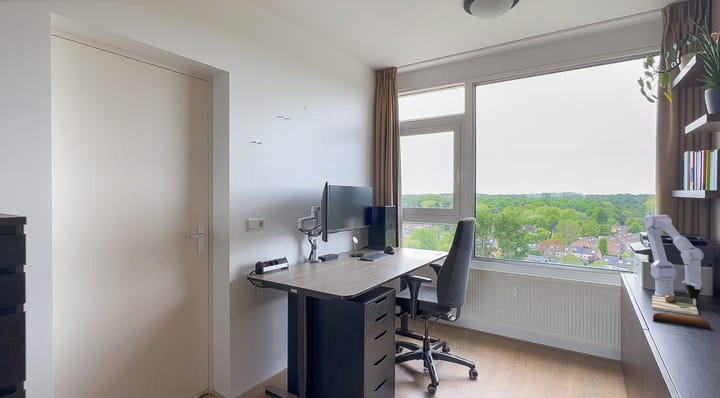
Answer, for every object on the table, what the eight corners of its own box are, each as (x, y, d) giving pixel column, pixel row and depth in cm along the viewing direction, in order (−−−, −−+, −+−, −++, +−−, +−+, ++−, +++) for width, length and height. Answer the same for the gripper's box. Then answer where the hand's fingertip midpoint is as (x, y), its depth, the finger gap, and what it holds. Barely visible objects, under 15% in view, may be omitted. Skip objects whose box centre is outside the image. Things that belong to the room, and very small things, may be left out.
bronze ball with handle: (665, 301, 169) (665, 296, 169) (665, 299, 172) (664, 294, 172) (696, 305, 162) (696, 299, 162) (695, 303, 165) (695, 297, 165)
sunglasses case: (706, 323, 144) (707, 312, 142) (709, 336, 140) (711, 325, 137) (651, 315, 155) (651, 305, 152) (652, 328, 150) (652, 317, 148)
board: (652, 297, 181) (652, 295, 181) (694, 303, 170) (694, 300, 170) (652, 308, 164) (652, 306, 164) (698, 315, 154) (698, 312, 154)
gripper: (677, 269, 176) (679, 295, 176) (686, 275, 163) (687, 303, 163) (696, 270, 172) (697, 297, 172) (706, 276, 160) (707, 305, 160)
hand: (693, 300), depth 167 cm, fingers closed
